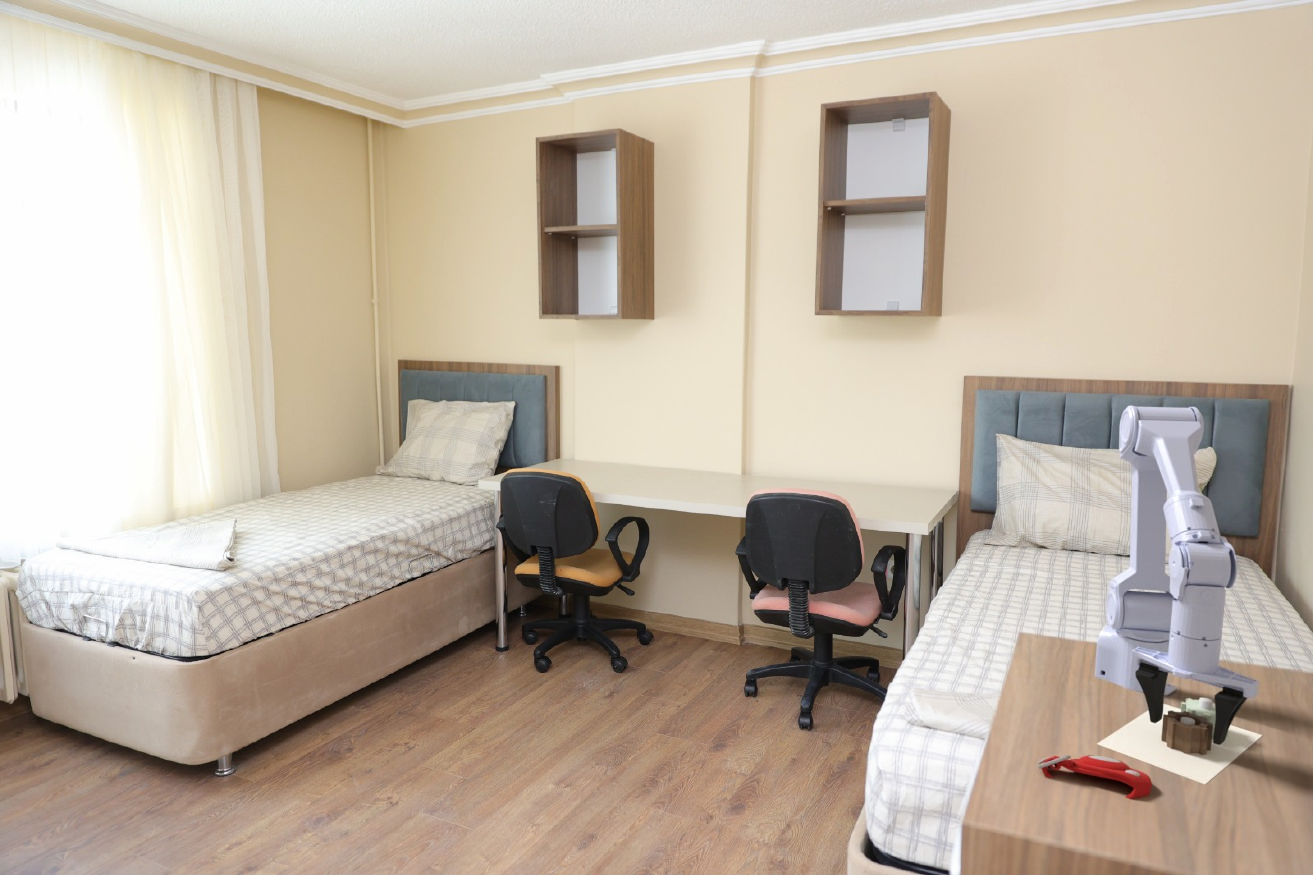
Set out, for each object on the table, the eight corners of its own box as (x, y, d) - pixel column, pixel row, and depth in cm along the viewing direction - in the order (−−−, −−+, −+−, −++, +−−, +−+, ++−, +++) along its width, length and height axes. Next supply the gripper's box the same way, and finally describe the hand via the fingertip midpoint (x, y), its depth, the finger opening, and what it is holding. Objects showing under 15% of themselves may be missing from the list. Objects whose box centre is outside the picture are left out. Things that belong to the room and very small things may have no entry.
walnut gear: (1155, 743, 117) (1157, 718, 116) (1171, 731, 120) (1173, 706, 120) (1200, 759, 113) (1202, 733, 112) (1216, 746, 116) (1218, 721, 116)
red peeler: (1099, 751, 115) (1169, 768, 106) (1098, 786, 114) (1168, 807, 105) (1029, 746, 111) (1096, 764, 102) (1027, 783, 110) (1095, 804, 101)
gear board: (1096, 751, 117) (1099, 711, 116) (1159, 708, 129) (1162, 673, 129) (1204, 792, 107) (1208, 749, 106) (1261, 742, 119) (1265, 703, 118)
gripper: (1124, 624, 117) (1116, 720, 119) (1248, 656, 106) (1238, 762, 108) (1146, 613, 122) (1139, 705, 124) (1268, 643, 111) (1258, 744, 113)
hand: (1186, 731), depth 116 cm, fingers open, 7 cm apart
